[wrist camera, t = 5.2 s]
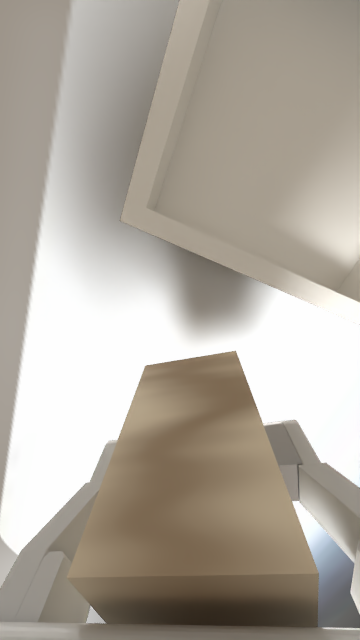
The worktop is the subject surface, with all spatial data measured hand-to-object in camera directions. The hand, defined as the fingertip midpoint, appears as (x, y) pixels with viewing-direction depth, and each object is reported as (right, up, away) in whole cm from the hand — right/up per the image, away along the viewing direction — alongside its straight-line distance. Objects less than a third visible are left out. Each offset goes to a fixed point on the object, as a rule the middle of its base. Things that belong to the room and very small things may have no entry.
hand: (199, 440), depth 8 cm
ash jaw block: (0, +1, +2) cm, 3 cm away
